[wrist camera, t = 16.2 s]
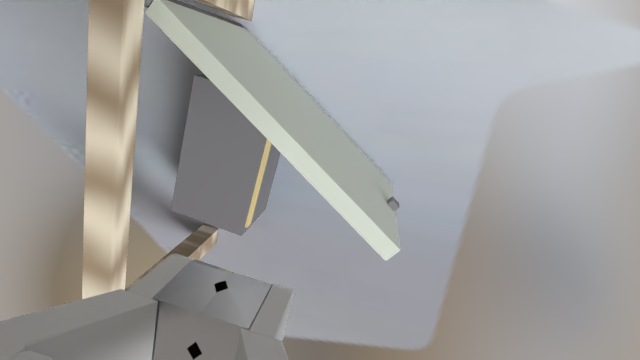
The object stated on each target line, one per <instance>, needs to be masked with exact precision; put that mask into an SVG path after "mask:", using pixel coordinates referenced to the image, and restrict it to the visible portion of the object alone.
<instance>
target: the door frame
mask: <svg viewBox="0 0 640 360" xmlns="http://www.w3.org/2000/svg"><path fill="white" fill-rule="evenodd" d="M144 1H145V0H89V22H88V66H87V111H86V155H85V199H84V200H85V201H84V243H83V287H82V289H83V290H82V299H85V298H89V297H93V296H96V295H100V294H104V293H108V292H111V291H115V290H119V289H123V290H126V291H128V290H129V289H130V288H131V287H132V286H134V285H135V284H136V283H137V282H138V281H140V280H141V279H142V278H143V277H144V276H146V275H147V274H148V273H149V272H150V271H152V270H153V269H154V268H155V267H156V266H157V265H159V264H160V263H161V262H162V261H163V260H165V259H166V258H167V257H168V256H169V255H171V254H179V255H182V256H186V257H189V258H192V259H194V260H198V261H199V260H200V259H201V258H202V257H203V256H204V255H205V254H206V253H207V252H208V251H209V250H210V249H211V248H212V247H213V246H214V245H215V244H216V241H217V235H218V229H217V228H213V227H210V226H207V225H202V226H201V227H199V228H198V229H197V230H196V231H195V232H193V233H192V234H191V235H190V236H189V237H187V238H186V239H185V240H184V241H183V242H181V243H180V244H179V245H178V246H176V247H175V248H174V249H173V250H172V251H170V252H169V253H168V254H167V255H166V256H165V257H163V258H162V259H161V260H160V261H159V262H157V263H156V264H155V265H154V266H152V267H151V268H150V269H149V270H148V271H146V272H145V273H144V274H143V275H142V276H140V277H139V278H138V279H137V280H136V281H134V282H133V283H132V284H131V285H129V286H128V287H127V288H126V289H125V277H126V264H127V248H128V234H129V220H130V205H131V191H132V176H133V162H134V147H135V132H136V118H137V103H138V89H139V74H140V59H141V45H142V30H143V16H144ZM195 1H197V2H199V3H202V4H204V5H207V6H209V7H211V8H214V9H216V10H219V11H221V12H223V13H226V14H228V15H231V16H233V17H237V18H241V19H246V20H250V21H252V15H253V9H254V2H255V0H195Z"/></svg>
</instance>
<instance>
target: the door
mask: <svg viewBox="0 0 640 360" xmlns="http://www.w3.org/2000/svg"><path fill="white" fill-rule="evenodd" d="M144 6H145V7H148V9H147V11H146V12H145V14H146V15H147V16H148V17H149V18H150V19H151V20H152V21H153V22H154V23H155V24H156V25H157V26H158V27H159V28H160V29H161V30H162V31H163V32H164V33H165V34H166V35H167V36H168V37H169V38H170V39H171V40H172V41H173V42H174V43H175V44H176V46H177V47H178V48H179V49H180V50H181V51H182V52H183V53H184V54H185V55H186V56H187V57H188V58H189V59H190V60H191V61H192V62H193V63H194V64H195V65H196V66H197V67H198V68H199V69H200V70H201V71H202V72H203V73H204V74H205V75H206V76H207V77H208V78H209V80H210V81H211V82H212V83H213V84H214V85H215V86H216V87H217V88H218V89H219V90H220V91H221V92H222V93H223V94H224V95H225V96H226V97H227V98H228V99H229V100H230V101H231V102H232V103H233V104H234V105H235V106H236V107H237V108H238V109H239V110H240V111H241V112H242V113H243V115H244V116H245V117H246V118H247V119H248V120H249V121H250V122H251V123H252V124H253V125H254V126H255V127H256V128H257V129H258V130H259V131H260V132H261V133H262V134H263V135H264V136H265V137H266V138H267V139H268V140H269V141H270V142H271V143H272V144H273V145H274V146H275V147H276V148H277V150H278V151H279V152H280V153H281V154H282V155H283V156H284V157H285V158H286V159H287V160H288V161H289V162H290V163H291V164H292V165H293V166H294V167H295V168H296V169H297V170H298V171H299V172H300V173H301V174H302V175H303V176H304V177H305V178H306V179H307V180H308V181H309V182H310V184H311V185H312V186H313V187H314V188H315V189H316V190H317V191H318V192H319V193H320V194H321V195H322V196H323V197H324V198H325V199H326V200H327V201H328V202H329V203H330V204H331V205H332V206H333V207H334V208H335V209H336V210H337V211H338V212H339V213H340V214H341V215H342V216H343V217H344V219H345V220H346V221H347V222H348V223H349V224H350V225H351V226H352V227H353V228H354V229H355V230H356V231H357V232H358V233H359V234H360V235H361V236H362V237H363V238H364V239H365V240H366V241H367V242H368V243H369V244H370V245H371V246H372V247H373V248H374V249H375V250H376V251H377V253H378V254H379V255H380V256H381V257H382V258H383V259H384V260H385V261H387V260H388V259H389V258H391V257H392V256H393V255H395V254H396V253H397V252H399V251H400V242H399V234H398V225H397V217H396V210H397V209H398V208H399V203H398V202H397V201H396V200H395V199H394V191H393V184H392V183H391V182H390V180H389V179H388V178H387V177H386V176H385V175H384V174H383V173H382V172H381V171H380V170H379V169H378V168H377V167H376V166H375V165H374V163H373V162H372V161H371V160H370V159H369V158H368V157H367V156H366V155H365V154H364V153H363V152H362V151H361V150H360V149H359V148H358V146H357V145H356V144H355V143H354V142H353V141H352V140H351V139H350V138H349V137H348V136H347V135H346V134H345V133H344V132H343V131H342V129H341V128H340V127H339V126H338V125H337V124H336V123H335V122H334V121H333V120H332V119H331V118H330V117H329V116H328V115H327V114H326V112H325V111H324V110H323V109H322V108H321V107H320V106H319V105H318V104H317V103H316V102H315V101H314V100H313V99H312V98H311V97H310V95H309V94H308V93H307V92H306V91H305V90H304V89H303V88H302V87H301V86H300V85H299V84H298V83H297V82H296V81H295V80H294V78H293V77H292V76H291V75H290V74H289V73H288V72H287V71H286V70H285V69H284V68H283V67H282V66H281V65H280V64H279V63H278V61H277V60H276V59H275V58H274V57H273V56H272V55H271V54H270V53H269V52H268V51H267V50H266V49H265V48H264V47H263V46H262V44H261V43H260V42H259V41H258V40H257V39H256V38H255V37H254V36H253V35H252V34H251V33H250V32H249V31H248V30H247V29H245V28H243V26H242V25H240V24H238V23H235V22H233V21H230V20H227V19H225V18H222V17H219V16H217V15H214V14H212V13H209V12H206V11H204V10H201V9H198V8H196V7H193V6H190V5H188V4H185V3H183V2H180V1H177V0H145V1H144Z"/></svg>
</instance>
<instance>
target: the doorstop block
mask: <svg viewBox="0 0 640 360" xmlns="http://www.w3.org/2000/svg"><path fill="white" fill-rule="evenodd" d="M279 156H280V152H279V151H278V150H277V148H276V147H275V146H274V145H273V144H272V143H271V142H270V141H269V140H268V139H267V138H266V137H265V136H264V135H263V134H262V133H261V132H260V131H259V130H258V129H257V128H256V127H255V126H254V125H253V124H252V123H251V122H250V121H249V120H248V119H247V118H246V117H245V116H244V115H243V113H242V112H241V111H240V110H239V109H238V108H237V107H236V106H235V105H234V104H233V103H232V102H231V101H230V100H229V99H228V98H227V97H226V96H225V95H224V94H223V93H222V92H221V91H220V90H219V89H218V88H217V87H216V86H215V85H214V84H213V83H212V82H211V81H210V80H209V78H208V77H207V76H206V75H194V79H193V84H192V90H191V96H190V102H189V108H188V113H187V119H186V125H185V131H184V137H183V143H182V148H181V154H180V160H179V166H178V172H177V178H176V183H175V189H174V195H173V201H172V207H171V211H174V212H177V213H179V214H182V215H185V216H188V217H190V218H193V219H196V220H199V221H202V222H204V223H207V224H210V225H213V226H216V227H218V228H221V229H224V230H227V231H229V232H232V233H235V234H238V235H241V236H242V235H243V234H244V233H245V232H246V230H247V229H248V228H249V227H250V226H251V225H252V224H253V222H254V221H255V220H256V219H257V218H258V217H259V216H260V214H261V213H262V212H263V211H264V210H265V208H266V205H267V201H268V197H269V194H270V190H271V186H272V182H273V179H274V175H275V171H276V168H277V164H278V160H279Z"/></svg>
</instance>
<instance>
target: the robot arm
mask: <svg viewBox="0 0 640 360" xmlns="http://www.w3.org/2000/svg"><path fill="white" fill-rule="evenodd" d="M293 298H294V290H293V289H290V288H286V287H282V286H279V285H275V284H274V285H273V284H269V283H266V282H263V281H259V280H256V279H253V278H249V277H246V276H243V275H239V274H236V273H234V272H231V271H228V270H225V269H222V268H219V267H216V266H213V265H210V264H207V263H204V262H201V261H198V260H194V259H192V258H189V257H186V256H182V255H179V254H171V255H169V256H168V257H167V258H166V259H165V260H163V261H162V262H161V263H160V264H159V265H157V266H156V267H155V268H154V269H153V270H152V271H150V272H149V273H148V274H147V275H146V276H144V277H143V278H142V279H141V280H140V281H138V282H137V283H136V284H135V285H134V286H132V287H131V288H130V289H129V290H128V291H126V290H123V289H119V290H115V291H111V292H108V293H104V294H100V295H96V296H93V297H89V298H85V299H82V300H78V301H75V302H70V303H67V304H63V305H59V306H56V307H52V308H48V309H45V310H41V311H38V312H34V313H30V314H26V315H22V316H19V317H15V318H12V319H8V320H4V321H0V360H288V357H287V355H286V352H285V349H284V346H283V343H282V340H283V336H284V333H285V329H286V325H287V321H288V317H289V313H290V309H291V305H292V302H293Z"/></svg>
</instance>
